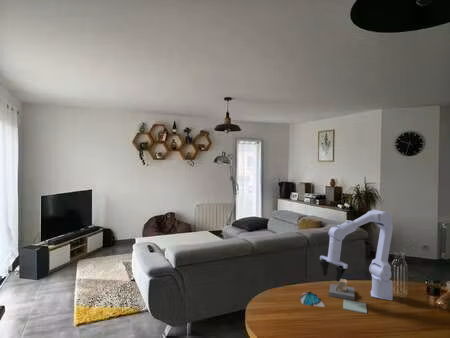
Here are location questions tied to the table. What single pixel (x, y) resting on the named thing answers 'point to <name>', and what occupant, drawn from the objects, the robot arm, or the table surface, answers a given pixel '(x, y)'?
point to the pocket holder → (338, 294)
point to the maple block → (342, 285)
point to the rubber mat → (354, 306)
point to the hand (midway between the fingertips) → (331, 278)
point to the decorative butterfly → (311, 299)
